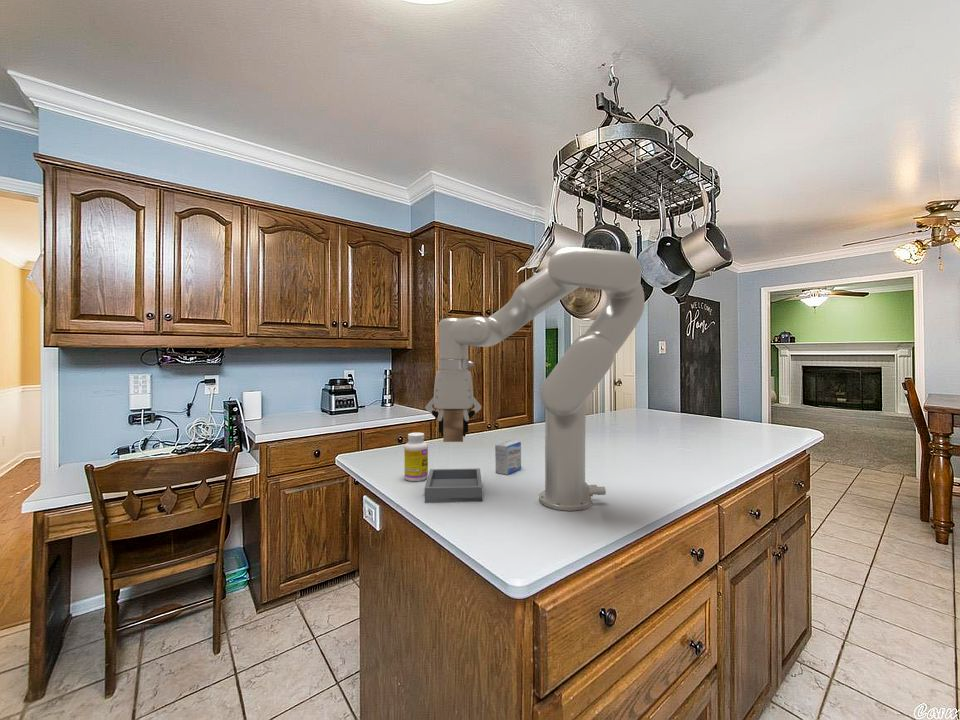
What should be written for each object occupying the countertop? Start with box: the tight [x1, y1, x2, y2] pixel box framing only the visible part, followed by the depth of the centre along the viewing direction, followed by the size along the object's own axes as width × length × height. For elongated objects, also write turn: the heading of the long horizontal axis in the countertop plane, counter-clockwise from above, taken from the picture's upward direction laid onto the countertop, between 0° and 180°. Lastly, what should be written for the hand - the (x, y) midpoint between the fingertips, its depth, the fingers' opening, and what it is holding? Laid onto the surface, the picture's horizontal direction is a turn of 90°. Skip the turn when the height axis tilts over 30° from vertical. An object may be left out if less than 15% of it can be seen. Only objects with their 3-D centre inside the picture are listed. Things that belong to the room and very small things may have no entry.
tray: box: [424, 467, 483, 504], centre depth 108 cm, size 14×16×4 cm
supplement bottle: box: [403, 432, 429, 482], centre depth 119 cm, size 7×7×13 cm
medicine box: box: [494, 439, 522, 476], centre depth 125 cm, size 8×4×9 cm, turn 143°
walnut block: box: [442, 410, 464, 443], centre depth 108 cm, size 5×5×8 cm
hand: (453, 434), depth 108 cm, fingers closed on walnut block, 5 cm apart
